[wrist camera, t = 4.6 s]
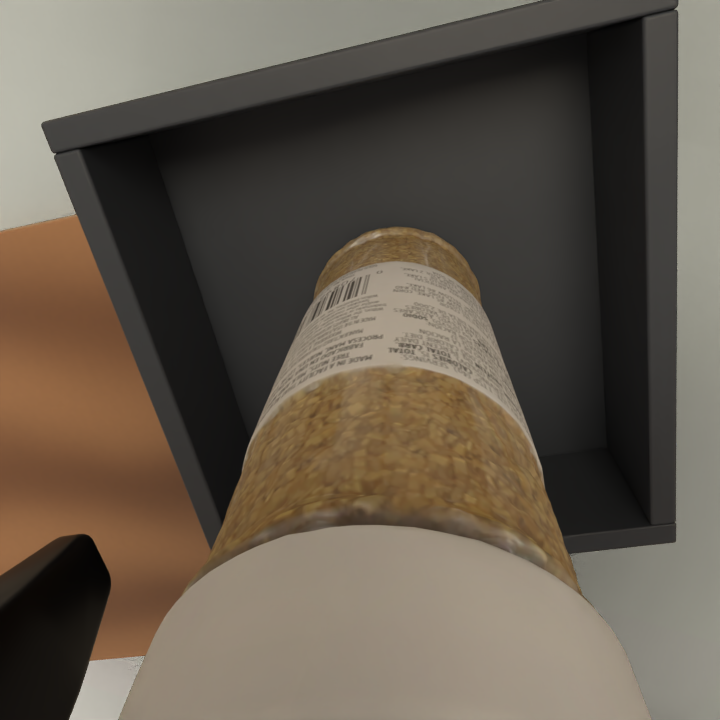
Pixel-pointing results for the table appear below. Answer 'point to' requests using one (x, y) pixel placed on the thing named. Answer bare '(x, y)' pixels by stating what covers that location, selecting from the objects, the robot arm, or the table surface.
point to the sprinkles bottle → (388, 530)
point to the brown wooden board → (86, 437)
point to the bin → (421, 211)
